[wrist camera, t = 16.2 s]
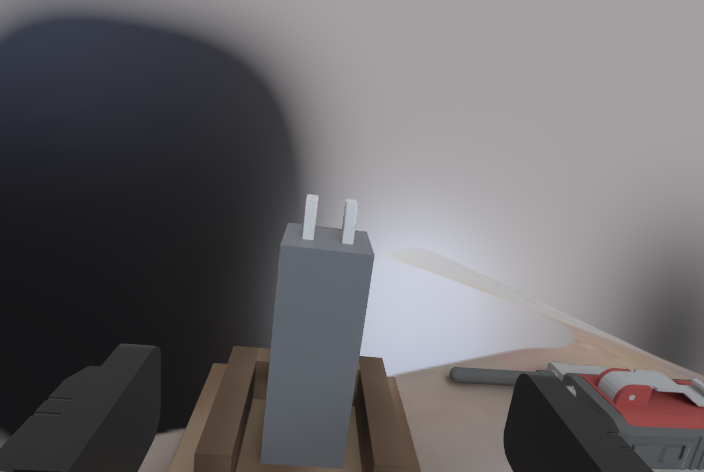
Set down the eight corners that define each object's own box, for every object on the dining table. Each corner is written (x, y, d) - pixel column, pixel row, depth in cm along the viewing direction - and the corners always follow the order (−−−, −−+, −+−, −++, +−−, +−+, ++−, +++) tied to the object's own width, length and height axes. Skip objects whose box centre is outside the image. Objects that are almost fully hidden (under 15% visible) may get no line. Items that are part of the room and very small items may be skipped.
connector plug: (340, 416, 26) (371, 197, 23) (342, 469, 22) (380, 214, 19) (270, 411, 26) (291, 187, 23) (259, 463, 22) (284, 203, 19)
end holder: (392, 390, 31) (400, 344, 30) (440, 576, 19) (456, 506, 18) (212, 376, 30) (215, 328, 29) (136, 565, 18) (138, 490, 17)
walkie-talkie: (682, 395, 37) (441, 382, 34) (700, 345, 36) (453, 327, 33) (795, 480, 28) (488, 472, 26) (823, 419, 27) (505, 403, 25)
